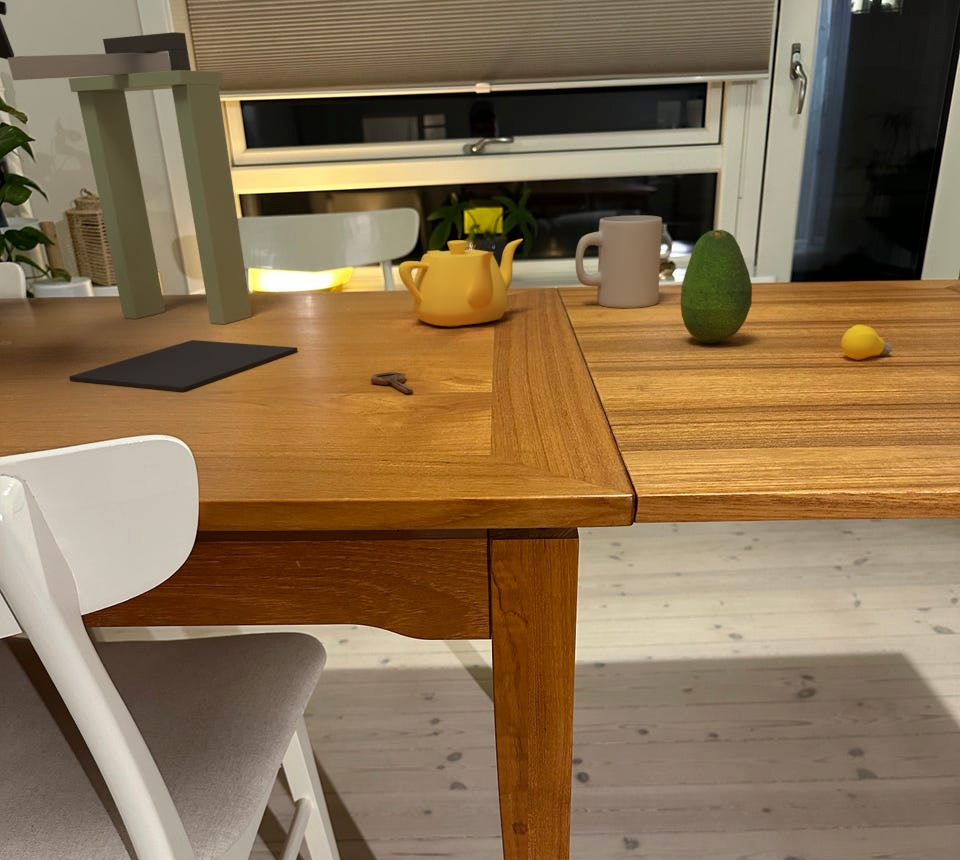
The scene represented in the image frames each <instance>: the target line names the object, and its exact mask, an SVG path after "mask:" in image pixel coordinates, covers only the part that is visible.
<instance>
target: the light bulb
mask: <svg viewBox="0 0 960 860" xmlns="http://www.w3.org/2000/svg"><path fill="white" fill-rule="evenodd" d="M840 346H841V349H842V352H843V354H844V355H845V356H846V357H848V358H849V359H852V360H856V361H860V360H865V359H867V358H870V357H876V356H884V357H887V356H889V355H890V353H891V352H892V351H893V346H892V343H891V342H888V341H884V339H883V338H882V337H881V336H879V334H878V333H877V332H876V331H875V329H874V328H873V327H871V326H868V325H864V324H856V325H853V326H852V327H850V328H848V329H847V330H846V331H845V333H844V334H843V336H842V338H841V342H840Z"/></svg>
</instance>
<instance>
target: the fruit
mask: <svg viewBox="0 0 960 860" xmlns="http://www.w3.org/2000/svg"><path fill="white" fill-rule="evenodd" d="M683 276H684V277H683V280H682V282H681V283H682V284H681V287H680V288H681V289H680V303H679V304H680V313H681V318H682V320H683V324H684V326H685V329H686V330H687V331H688V334H690V336H691V337H693V338H694V339H696V340H698V341H699V342H701V343H704V344H717V343H718V344H719V343H721V342H724V341H725V340H726V341H727V340H729V339H730V338H732V337H734V336H735V335H736V334H737V333H738V332H739V330H740V329H741V328H742V326H743V325H744V323H745V321H746V319H747V317H748V315H749V312H750V310H751V306H752V303H753V302H752V301H753V299H752V298H753V296H752V295H753V285H752V281H751V275H750V272H749V269H748V267H747V264H746V261H745V258H744V255H743V252H742V250H741V248H740V245H739V243H738V242H737V239H736V238H735V237H734V235H733V234H732V233H731V232H729V231H727V230H724V229H714V230H709V231H707V232H705V233H704V234H702V235H701V237H699V239H697V241H696V243H695V245H694V246H693V249H692V252H691V254H690V257H689V261H688V264H687V267H686V271H685V273H684V275H683Z"/></svg>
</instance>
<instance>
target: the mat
mask: <svg viewBox="0 0 960 860" xmlns="http://www.w3.org/2000/svg"><path fill="white" fill-rule="evenodd" d="M298 351H299V350H298V347H294V346H283V345H282V346H280V345H267V344H254V343H253V344H252V343H240V342H225V341H213V340H212V341H211V340H210V341H209V340H195V339H191V340H188V341H185V342H180V343H177V344H174V345H170V346H167V347H164V348H161V349H157V350H154V351H149V352H147V353H144V354H140V355H137V356H133V357H130V358H127V359H122V360H120V361H117V362H112V363H109V364H106V365H103V366H99V367H96V368H93V369H89V370H86V371H83V372H79V373H75V374H72V375H69V376H68V378H69V381H70V382H80V383H90V384H99V385H108V386H118V387H119V386H120V387H130V388H138V389H139V388H140V389H148V390H150V389H151V390H157V391H159V390H160V391H169V392H180V393H185V392H187V391H191V390H193V389H196V388H199V387H202V386H204V385H208V384H210V383H213V382H216V381H219V380H222V379H224V378H228V377H231V376H233V375H236V374H238V373H241V372H244V371H247V370H251V369H253V368H256V367H258V366H262V365H265V364H267V363H269V362H273V361H275V360H278V359H281V358H284V357H286V356H290V355H292V354H295V353H297V352H298Z"/></svg>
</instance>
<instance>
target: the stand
mask: <svg viewBox="0 0 960 860" xmlns="http://www.w3.org/2000/svg"><path fill="white" fill-rule="evenodd" d="M186 38H187V36H186V32H176V31H172V32H162V33H151V34H141V35H130V36H119V37H109V38H108V37H107V38H103V39H102V42H103V48H104V54H118V53H154V52H168V55H169V60H170V65H171V71H162V72H149V73H135V74H122V75H104V76H85V77H68V83H69V88H70V92H71V93H76V94H77V99H78V102H79V106H80V113H81V118H82V122H83V126H84V132H85V136H86V142H87V146H88V152H89V156H90V161H91V166H92V170H93V175H94V181H95V185H96V190H97V195H98V200H99V205H100V209H101V214H102V219H103V225H104V229H105V233H106V238H107V243H108V248H109V249H108V250H109V253H110V258H111V263H112V268H113V272H114V277H115V278H114V279H115V282H116V283H115V284H116V287H117V293H118V297H119V302H120V306H121V312H122V316H123V317H122V318H123V319H131V320H138V319H141V318H145V317H150V316H154V315H157V314H161V313H165V312H166V307H165V302H164V297H163V292H162V286H161V280H160V276H159V270H158V265H157V260H156V259H157V258H156V254H155V249H154V244H153V237H152V232H151V227H150V221H149V217H148V210H147V205H146V199H145V195H144V189H143V184H142V179H141V173H140V167H139V162H138V156H137V151H136V145H135V140H134V135H133V130H132V124H131V119H130V113H129V107H128V103H127V97H126V92H140V91H155V90H171V91H172V97H173V104H174V110H175V117H176V121H177V128H178V133H179V140H180V146H181V153H182V158H183V165H184V170H185V176H186V182H187V188H188V194H189V195H188V196H189V200H190V201H189V202H190V207H191V214H192V219H193V224H194V231H195V237H196V242H197V249H198V250H197V251H198V256H199V261H200V267H201V274H202V279H203V286H204V292H205V298H206V304H207V310H208V316H209V322H210V324H211V325H227V324H231V323H235V322H238V321H241V320H245V319H248V318H252V310H251V302H250V296H249V287H248V283H247V274H246V268H245V267H246V266H245V261H244V260H245V259H244V254H243V247H242V240H241V233H240V226H239V220H238V211H237V207H236V200H235V199H236V197H235V191H234V185H233V184H234V183H233V178H232V177H233V176H232V170H231V163H230V156H229V149H228V144H227V136H226V130H225V129H226V128H225V121H224V116H223V108H222V100H221V95H220V88H219V87H220V86H224V80H223V73H222V71H213V70H212V71H208V70H192V68H191V62H190V56H189V49H188V43H187V39H186Z"/></svg>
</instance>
